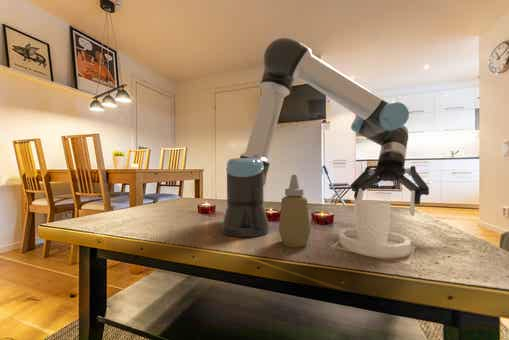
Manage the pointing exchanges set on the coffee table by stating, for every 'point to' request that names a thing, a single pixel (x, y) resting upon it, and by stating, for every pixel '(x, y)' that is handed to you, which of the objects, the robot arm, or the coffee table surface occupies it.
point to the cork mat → (401, 260)
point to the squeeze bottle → (294, 216)
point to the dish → (376, 245)
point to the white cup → (372, 221)
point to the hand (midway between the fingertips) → (382, 209)
